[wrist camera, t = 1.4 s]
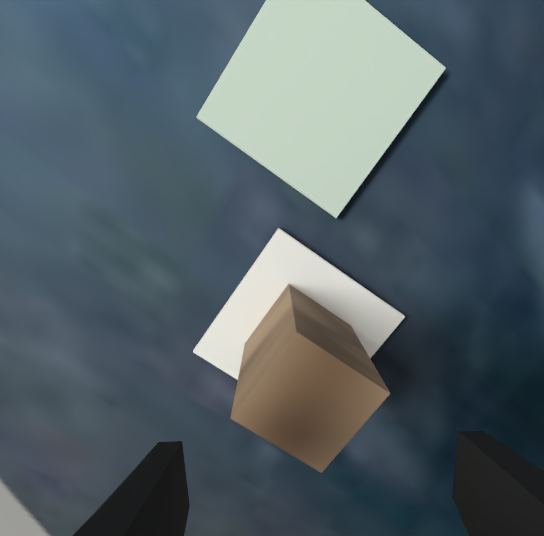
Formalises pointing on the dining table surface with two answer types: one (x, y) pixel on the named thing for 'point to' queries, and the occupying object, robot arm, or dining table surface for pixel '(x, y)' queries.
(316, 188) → the sage mat
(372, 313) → the white tile
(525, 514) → the robot arm
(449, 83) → the dining table surface
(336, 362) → the walnut block
